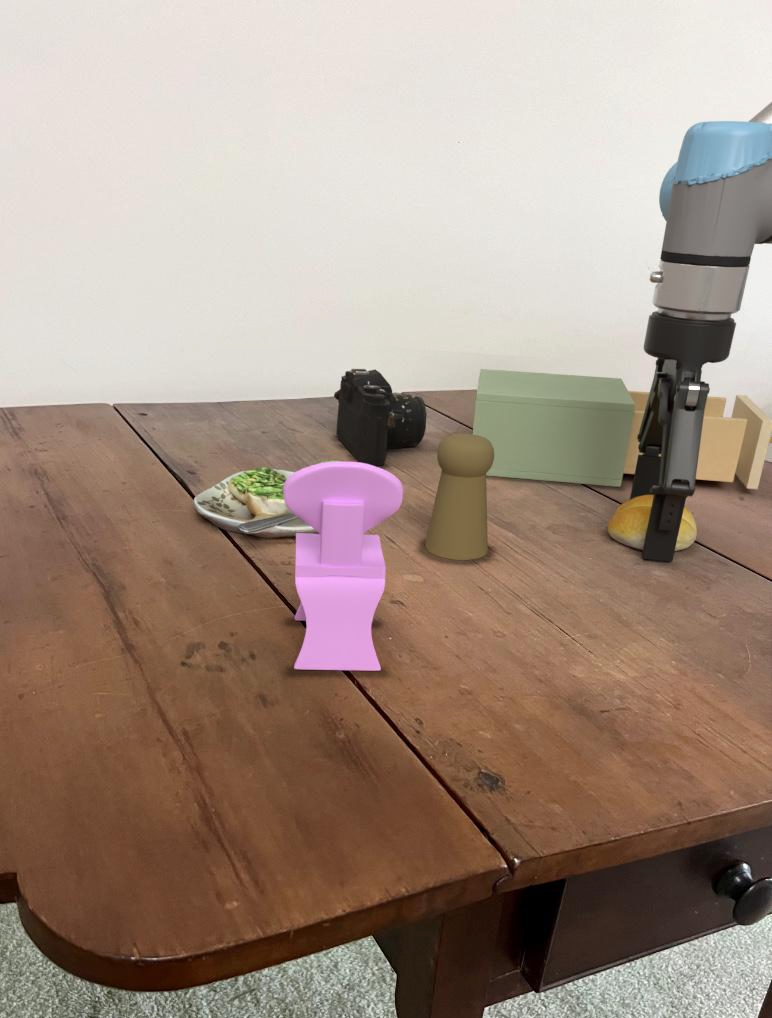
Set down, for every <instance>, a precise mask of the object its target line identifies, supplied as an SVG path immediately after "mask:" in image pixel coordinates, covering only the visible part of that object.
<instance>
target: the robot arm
mask: <svg viewBox="0 0 772 1018" xmlns="http://www.w3.org/2000/svg"><path fill="white" fill-rule="evenodd" d="M677 157H678V158H677V161H676V162H675V163H674V164H673V165H672V166H670V168H669V169H668V171H667V172H666V174H665V176H664V177H663V179H662V182H661V184H660V185H661V186H660V189H659V193H658V194H659V197H658V202H659V203H658V204H659V208H660V212H661V215H662V217H663V219H664V220H665V229H664V235H663V240H662V245H661V252H660V260H659V264H658V267H659V271H658V270H657V271H652V272H651V273H650V274H649V282H650V283H653V284H655V286H654V291H653V296H652V302H651V303H652V305H653V306H654V307H655V308H657V310H655V311H653V312H651V314H649V315H648V320H647V324H646V325H647V326H646V330H645V331H646V332H645V337H644V341H643V350H644V352H645V354H647V355H648V356H651V357H653V358H657V359H656V360H655V369H654V374H653V378H652V383H651V386H650V391H649V392H650V394H649V397H648V401H647V405H646V409H645V412H644V416H643V420H642V424H641V427H640V431H639V434H638V436H637V439H638V442H640V444H639V446H638V449H639V453H643V455H638V459H637V464H636V469H635V474H633V475H634V476H633V480H632V486H631V490H630V496H629V500H631V499H633V498H635V497H639V496H643V495H654V497H653V502H652V507H651V512H650V517H649V522H648V527H647V532H646V537H645V542H644V547H643V550H642V553H641V558H642V560H643V559H644V560H651V561H652V560H654V561H661V562H663V561H664V562H673V561H674V556H675V552H676V551H675V547H676V542H677V538H678V533H679V529H680V524H681V519H682V515H683V510H684V506H686V500H687V498H688V497H693V496H694V495H695V492H696V480H697V479H696V472H697V464H698V457H699V449H700V441H701V433H702V425H703V418H704V410H705V405H706V401H707V396H708V395H709V394H710V391H711V390H710V384H709V383H707V382H706V381H702V373H703V370H702V368H703V366H704V365H706V364H708V363H711V364H718V363H722V362H724V361H726V360H727V359H728V358H729V356H730V354H731V349H732V344H733V340H734V335H735V330H736V326H737V322H735V318H733V317H732V314H733V315H734V314H737V313H739V311H740V310H741V306H742V302H743V299H744V293H745V288H746V284H747V279H748V275H749V271H750V264H751V260H752V256H753V255H752V254H753V251H754V249H755V248H754V247H755V245H763V244H766V245H767V244H768V245H769V244H771V245H772V101H770V102H769V104H767V105H766V106H765V107H764V108H762V109H761V110H760V111H759V112H758V113H756V114H755V115H754V116H753V117H752V118H750V120H748V121H739V120H738V121H735V120H734V121H733V120H732V121H731V120H723V121H722V120H714V121H710V120H709V121H700V122H696V123H695V124H693V125H691V126H689V128H688V129H687V130H686V132H685V134H684V136H683V139H682V142H681V146H680V150H679V152H678V156H677ZM691 408H692V409H691ZM659 454H661V456H659ZM676 480H677V481H676ZM679 480H680V481H679Z"/></svg>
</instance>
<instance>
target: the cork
mask: <svg viewBox="0 0 772 1018" xmlns="http://www.w3.org/2000/svg"><path fill="white" fill-rule="evenodd" d="M436 458H437V463H438V466H439V467H440V469H441V473H440V476H439V481H438V486H437V490H436V494H435V499H434V502H433V503H434V504H433V507H432V512H431V516H430V520H429V524H428V525H429V526H428V528H427V529H428V530H427V533H426V538H425V543H424V547H425V549H426V551H428V553H430V554H432V555H434V556H436V557H439V558H443V559H447V560H453V561H456V560H457V561H470V560H476V559H481V558H483V557H485V556H486V555H487V554H488V551H489V543H488V542H489V539H488V538H489V537H488V497H487V495H488V494H487V476H486V473H487V472H488V471H489V469H490V468H491V466H492V464H493V461H494V448H493V446H492V444H491V442H490V441H489V440H488V439H486V438H485V437H482V436H478V435H473V434H472V433H453V434H449V435H447V436H445V437H444V438H443V439H442V440H441V441H440V443H439V444H438V447H437V453H436Z"/></svg>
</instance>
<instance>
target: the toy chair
mask: <svg viewBox="0 0 772 1018" xmlns="http://www.w3.org/2000/svg"><path fill="white" fill-rule="evenodd" d="M319 463H320V462H319ZM294 472H295V473H293V474H292V475H291V476H289V477H288V478H287V480H286V481H285V483H284V486H283V496H284V501H285V504H286V506H287V508H288V509H289V510H290V511H291V512H292V513H293V514H294V515H296V516H297V517H299V518H300V519H301V521H303V522H304V523H306V524H308V525H309V526H311V527H312V528H314V529H315V530H316V531H317V532H318V533H319V534H309V533H296V536H295V566H294V567H295V570H294V571H295V574H294V575H295V576H294V579H295V580H294V586H295V590H296V593H297V595H298V598H299V600H300V604H299V606H298V608H297V610H296V613H295V615H294V620H295V621H302V622H303V621H304V622H305V623H306V625H305V626H306V628H305V634H304V639H303V643H302V645H301V647H300V650H299V654H298V655H297V658H296V660H295V662H294V665H293V669H294V670H303V671H305V670H309V671H310V670H313V671H361V672H362V671H365V672H368V671H371V672H377V671H378V672H379V671H381V670H382V668H381V667H382V666H381V664H380V661H379V658H378V656H377V653H376V649H375V646H374V641H373V636H372V624H373V622H374V615H375V613H376V610H377V607H378V605H379V603H380V600H381V598H382V596H383V593H384V591H385V589H386V588H385V587H386V571H387V567H386V562H385V557H384V554H383V550H382V543H381V538H380V535H379V534H366V533H367V532H368V531H370V530H371V529H373V528H375V527H376V526H378V525H380V524H382V523H383V521H385V520H387V519H388V518H390V517H392V516H393V515H395V514H396V513H397V511H398V510H400V508H401V505H402V503H403V498H404V486H403V483H402V482H401V480H400V479H399V478H398V476H395V474H394V473H392V472H389V471H388V470H386V469H385V468H381V467H379V466H373V465H370V464H365V463H361V462H359V461H345V462H340V461H335V462H325V463H320V464H318V463H316V464H312V465H309V466H306V467H304V468H301V469H299V470H297V471H294Z"/></svg>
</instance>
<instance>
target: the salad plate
mask: <svg viewBox="0 0 772 1018" xmlns="http://www.w3.org/2000/svg"><path fill="white" fill-rule="evenodd" d="M335 461H340V462H346V461H345V460H342V459H327V460H322V461H321V462H318V463H317V464H320V463H325V462H335ZM295 472H296V471H290V470H285V469H277V468H272V467H270V466H267V467H265V466H262V467H261V468H250V469H248V470H242V471H240V472H235V473H234V474H231V475H229V476H228V477H226V478H225V479H223V480H221V481H220V482H218V483H217V484H215V485H212V486H211V488H208V489H205V490H204V491H202V492H200V493H199V494H197V495H195V497H194V498H193V508H194V509H195V510H196V511H197V513H198V514H199V515H201V517H203V518H205V519H206V520H208V521H209V522H210V523H212V524H213V525H214V526H215V527H217V528H219V529H222V530H224V531H228V532H234V533H239V534H245V535H252V536H256V537H260V538H265V539H273V538H285V537H287V538H288V537H289V538H290V537H296V533H309V534H319V533H318V532H317V531H316V530H315V529H314V528H312V527H311V526H309V525H308V524H306V523H304V522H303V521H301V519H300V518H299V517H297V516H296V515H294V514H293V513H292V512H291V511H290V510H289V509H288V508H287V506H286V504H285V501H284V496H283V486H284V483H285V481H286V480H287V478H288V477H289V476H291V475H292V474H293V473H295Z"/></svg>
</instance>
